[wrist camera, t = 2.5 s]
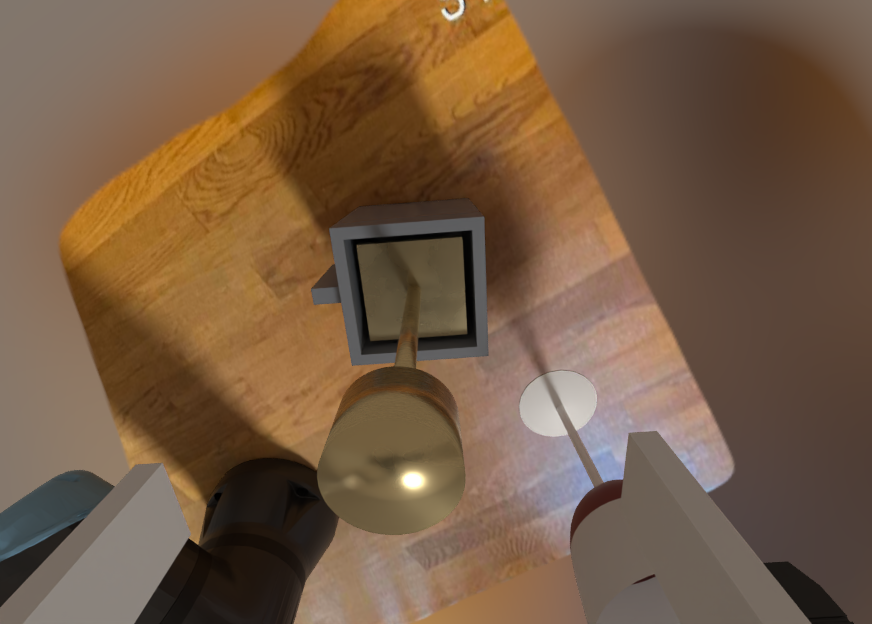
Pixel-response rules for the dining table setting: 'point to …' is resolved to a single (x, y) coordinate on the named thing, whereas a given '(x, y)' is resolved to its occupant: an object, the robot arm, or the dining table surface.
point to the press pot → (396, 225)
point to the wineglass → (597, 514)
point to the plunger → (400, 396)
